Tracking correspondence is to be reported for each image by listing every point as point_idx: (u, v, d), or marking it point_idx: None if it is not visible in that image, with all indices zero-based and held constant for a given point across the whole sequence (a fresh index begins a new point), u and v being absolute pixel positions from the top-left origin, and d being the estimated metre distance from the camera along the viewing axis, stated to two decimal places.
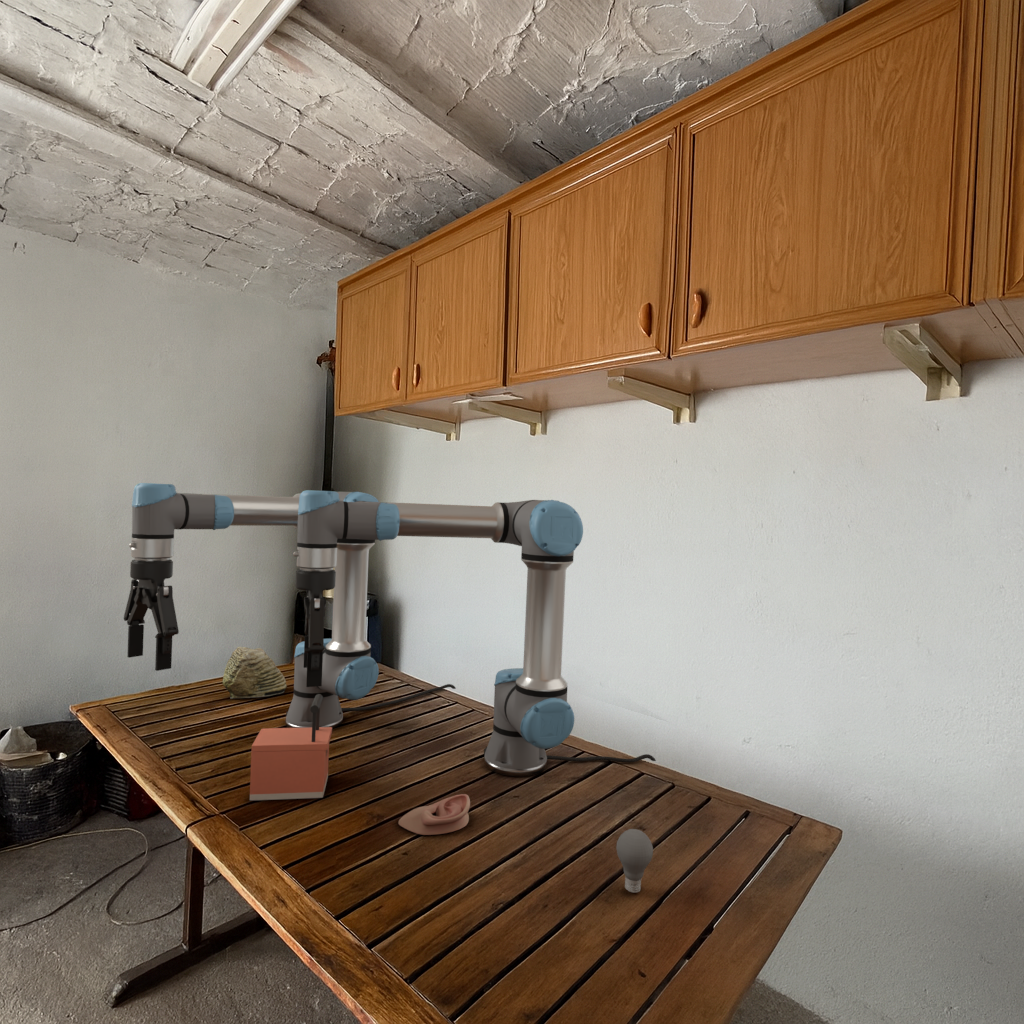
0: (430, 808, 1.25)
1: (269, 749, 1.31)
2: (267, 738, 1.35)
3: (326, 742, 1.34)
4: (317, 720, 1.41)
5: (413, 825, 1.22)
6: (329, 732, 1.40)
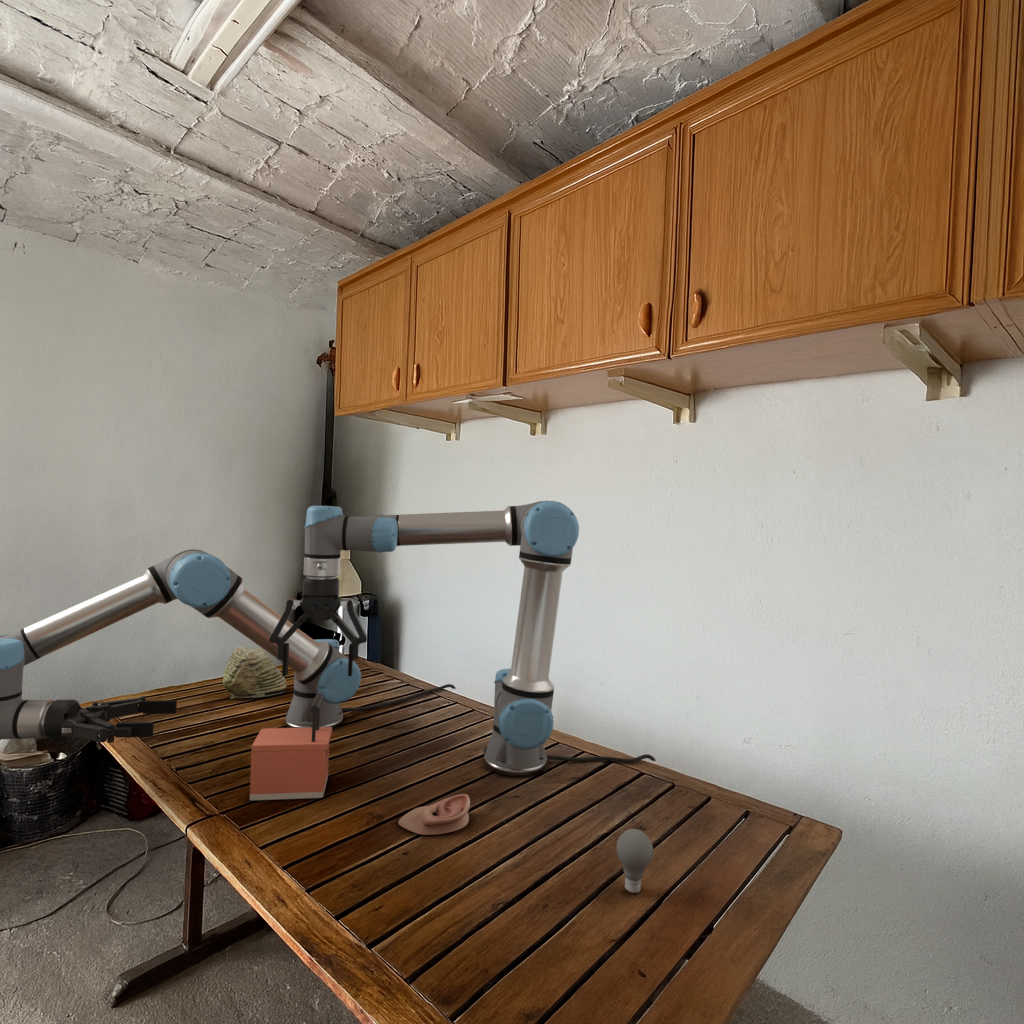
0: (430, 808, 1.25)
1: (269, 749, 1.31)
2: (267, 738, 1.35)
3: (326, 742, 1.34)
4: (317, 720, 1.41)
5: (413, 825, 1.22)
6: (329, 732, 1.40)
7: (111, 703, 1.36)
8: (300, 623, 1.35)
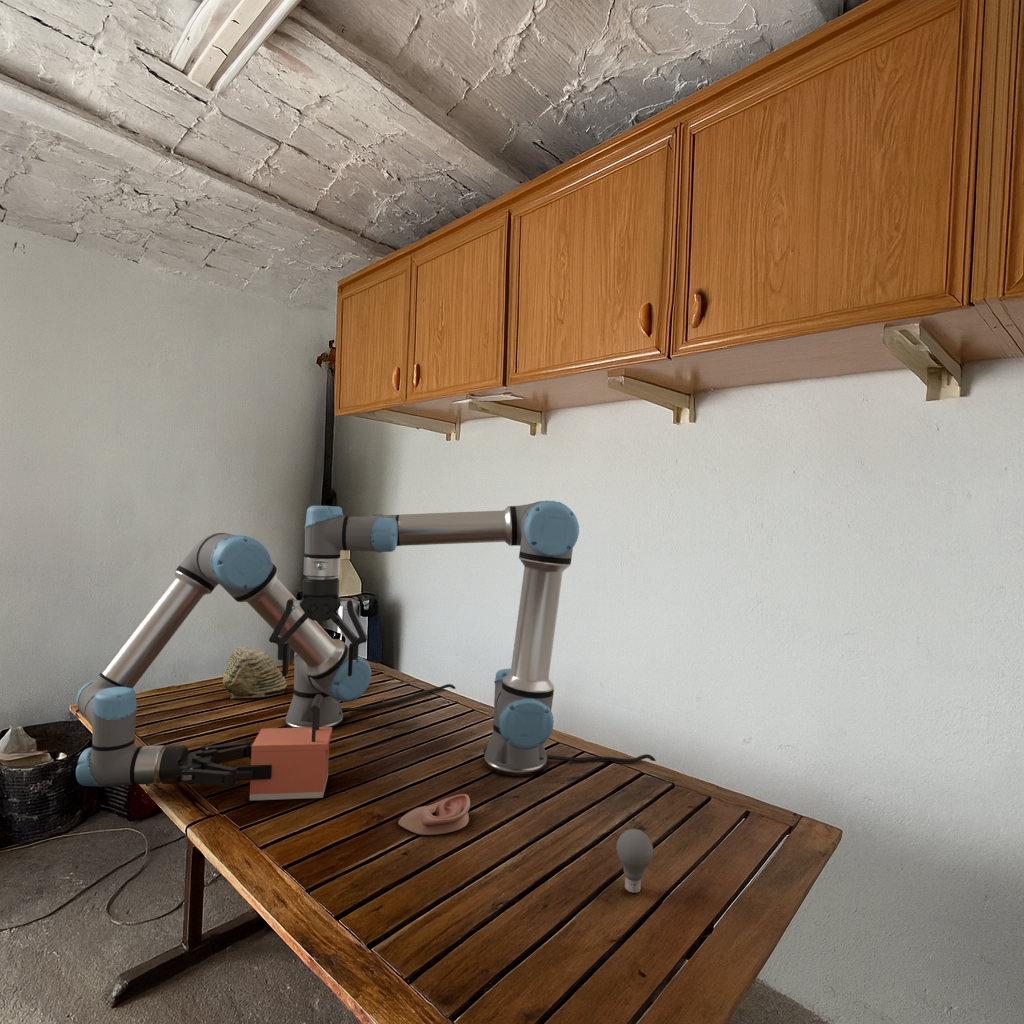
0: (430, 808, 1.25)
1: (269, 749, 1.31)
2: (267, 738, 1.35)
3: (326, 742, 1.34)
4: (317, 720, 1.41)
5: (413, 825, 1.22)
6: (329, 732, 1.40)
7: (217, 747, 1.40)
8: (300, 623, 1.35)
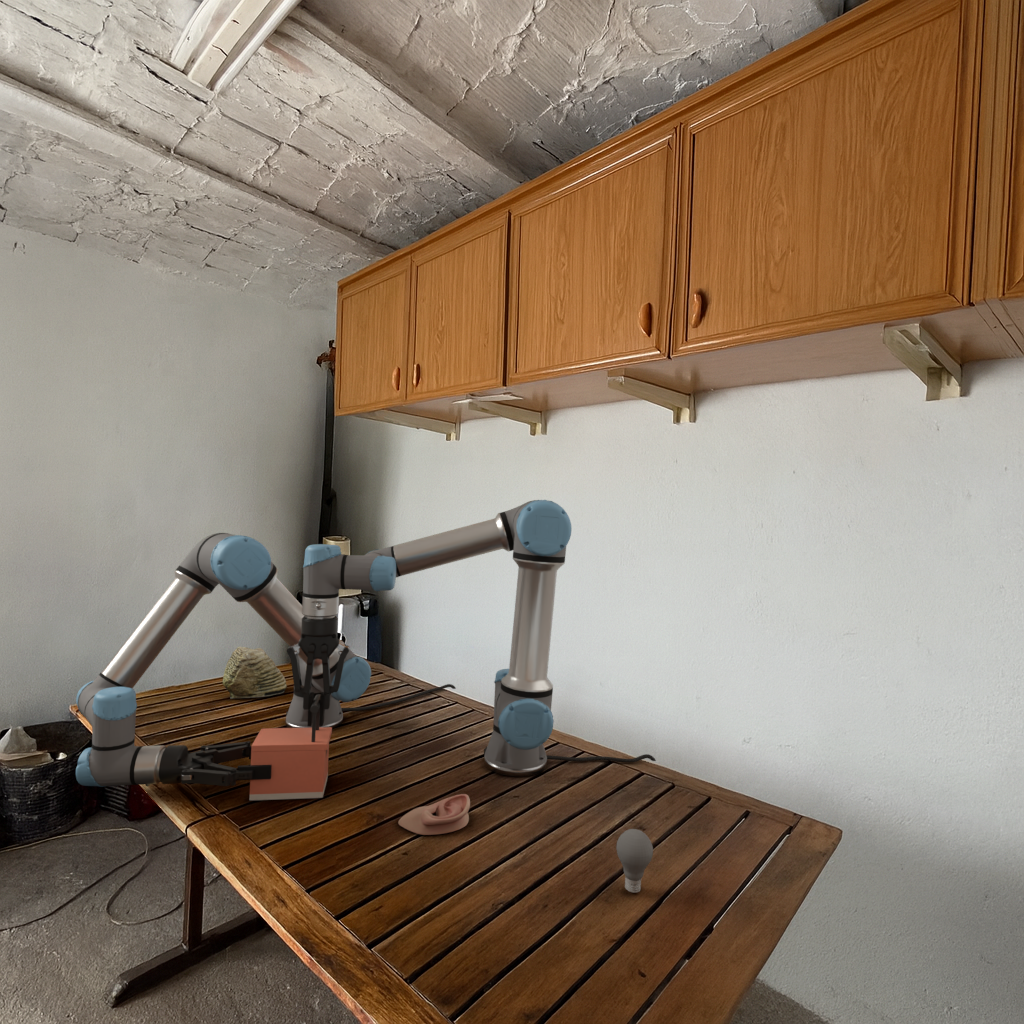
0: (430, 808, 1.25)
1: (269, 749, 1.31)
2: (267, 738, 1.35)
3: (326, 742, 1.34)
4: (317, 720, 1.41)
5: (413, 825, 1.22)
6: (329, 732, 1.40)
7: (217, 747, 1.40)
8: (310, 666, 1.36)
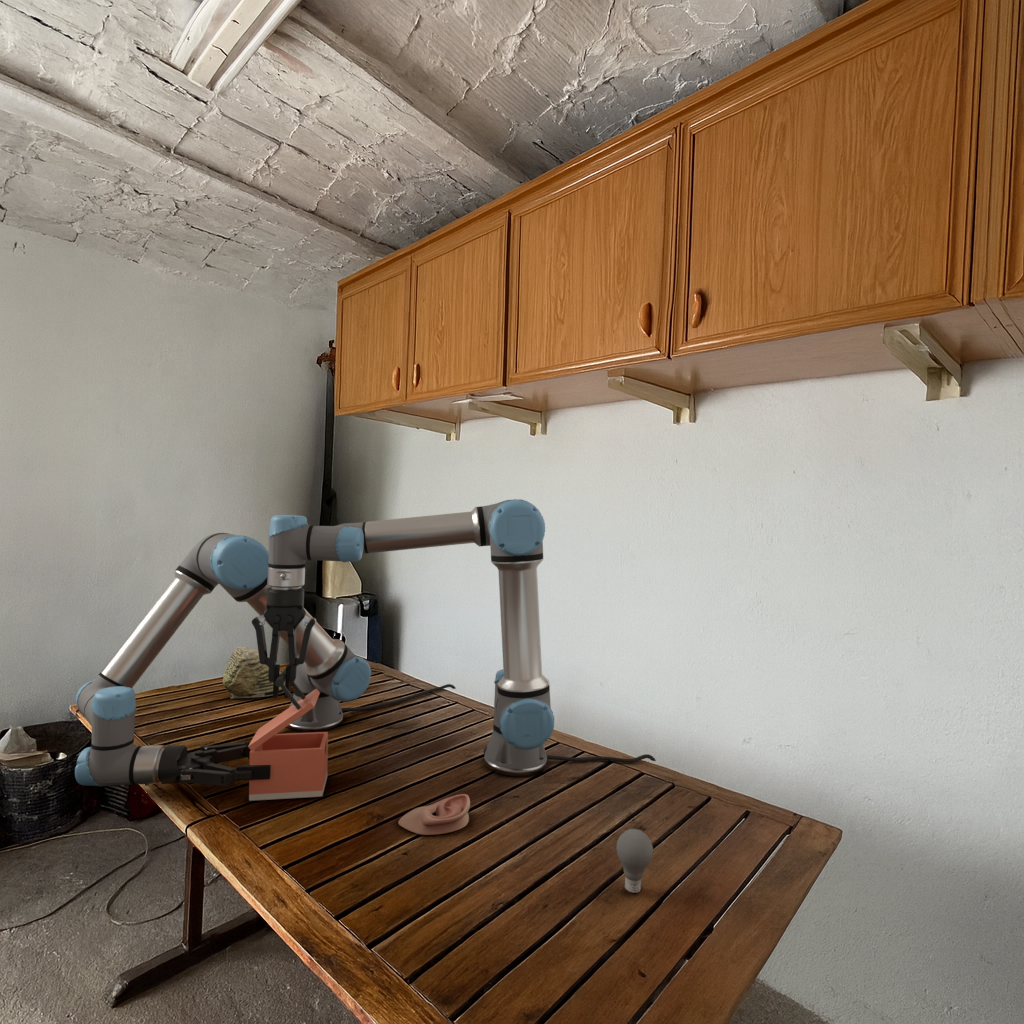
0: (430, 808, 1.25)
1: (265, 739, 1.31)
2: (261, 732, 1.34)
3: (310, 702, 1.33)
4: (297, 691, 1.40)
5: (413, 825, 1.22)
6: (313, 693, 1.39)
7: (217, 747, 1.40)
8: (276, 638, 1.34)
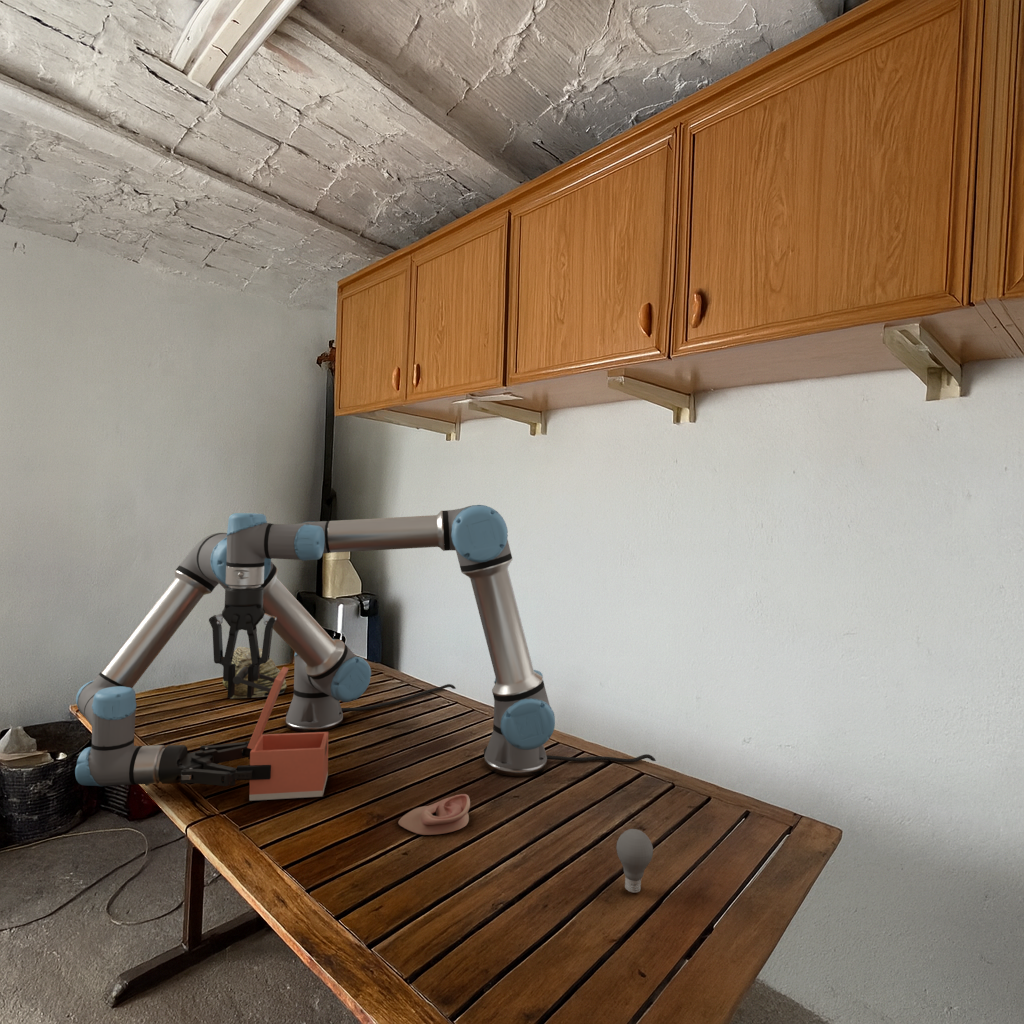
0: (430, 808, 1.25)
1: (257, 733, 1.31)
2: None
3: (275, 679, 1.32)
4: (266, 678, 1.38)
5: (413, 825, 1.22)
6: (280, 671, 1.37)
7: (217, 747, 1.40)
8: (232, 637, 1.33)
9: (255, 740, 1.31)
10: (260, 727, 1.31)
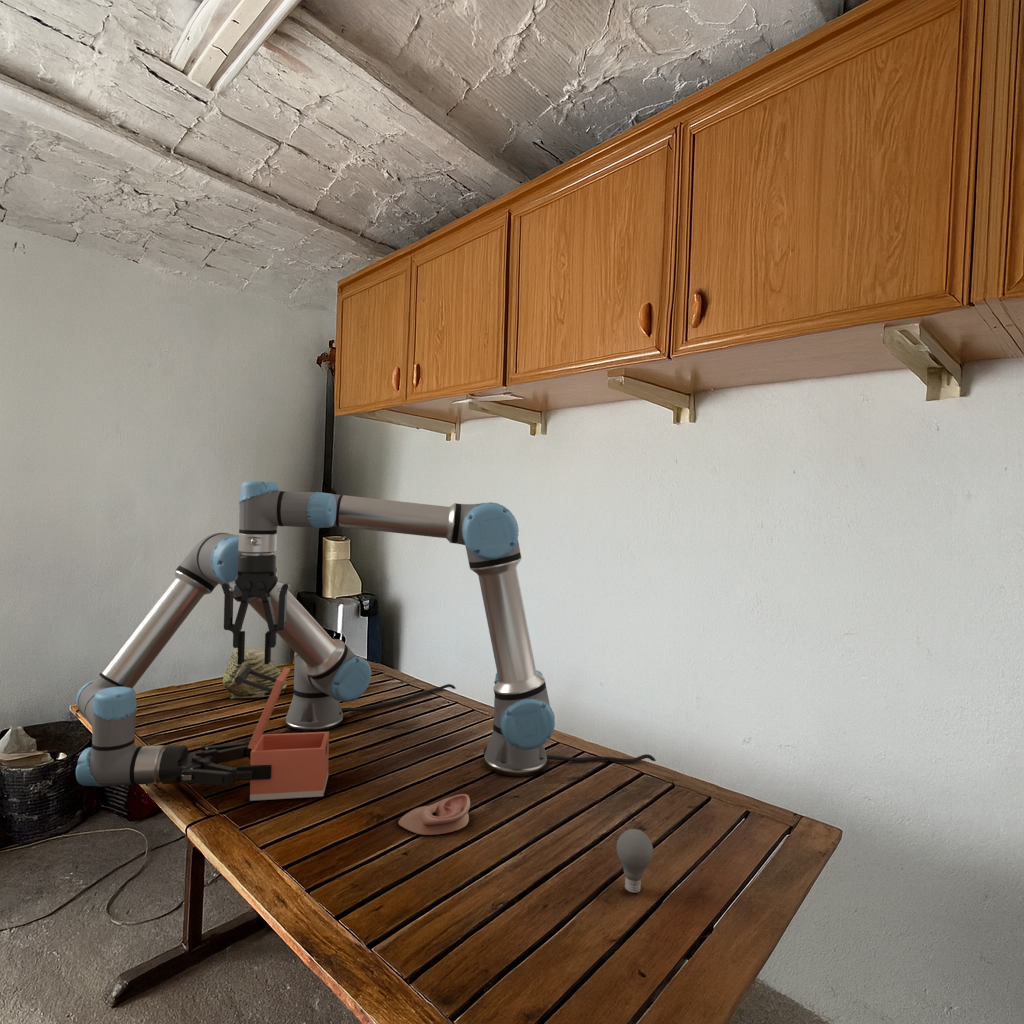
0: (430, 808, 1.25)
1: (258, 733, 1.31)
2: None
3: (276, 679, 1.32)
4: (268, 678, 1.38)
5: (413, 825, 1.22)
6: None
7: (217, 747, 1.40)
8: (244, 604, 1.33)
9: (256, 740, 1.31)
10: (261, 727, 1.31)
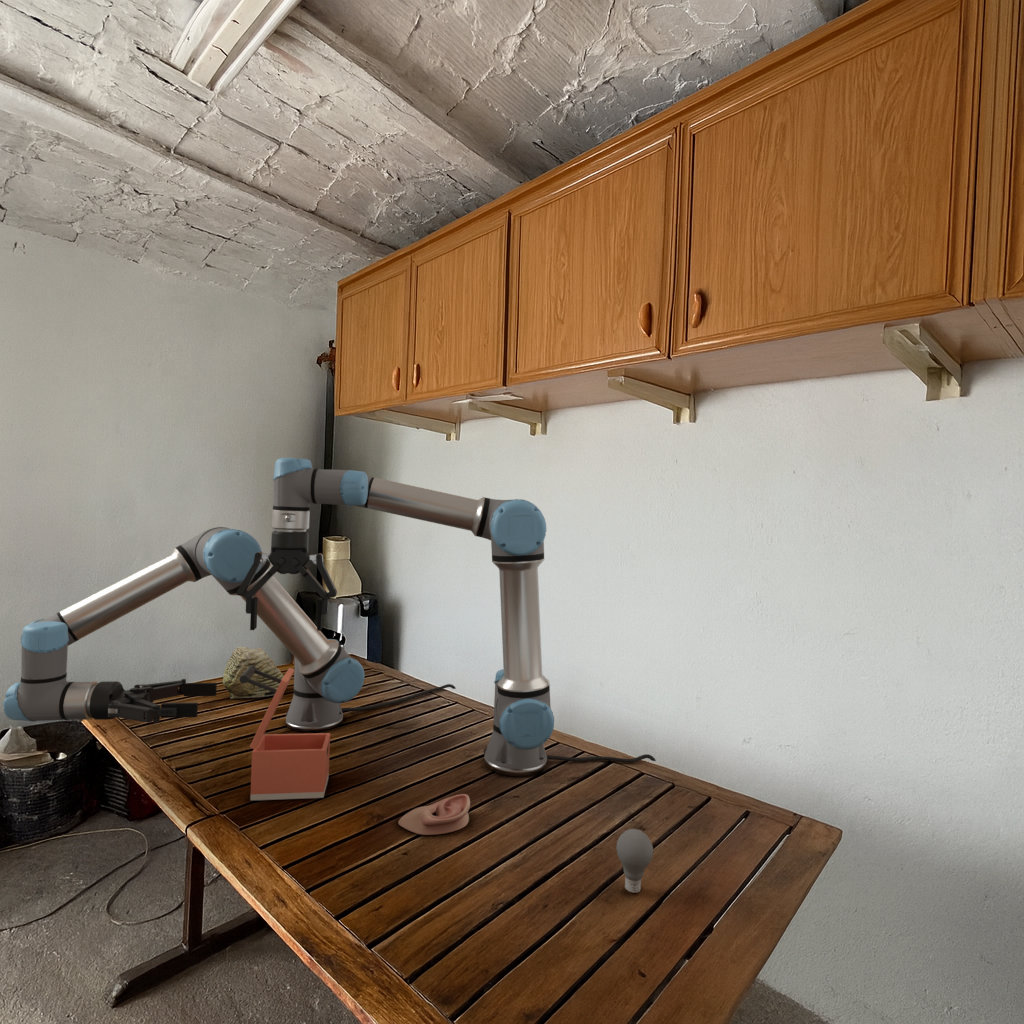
0: (430, 808, 1.25)
1: (260, 733, 1.31)
2: None
3: (281, 680, 1.32)
4: (272, 678, 1.39)
5: (413, 825, 1.22)
6: None
7: (152, 685, 1.37)
8: (268, 576, 1.34)
9: (258, 740, 1.31)
10: (263, 727, 1.31)
